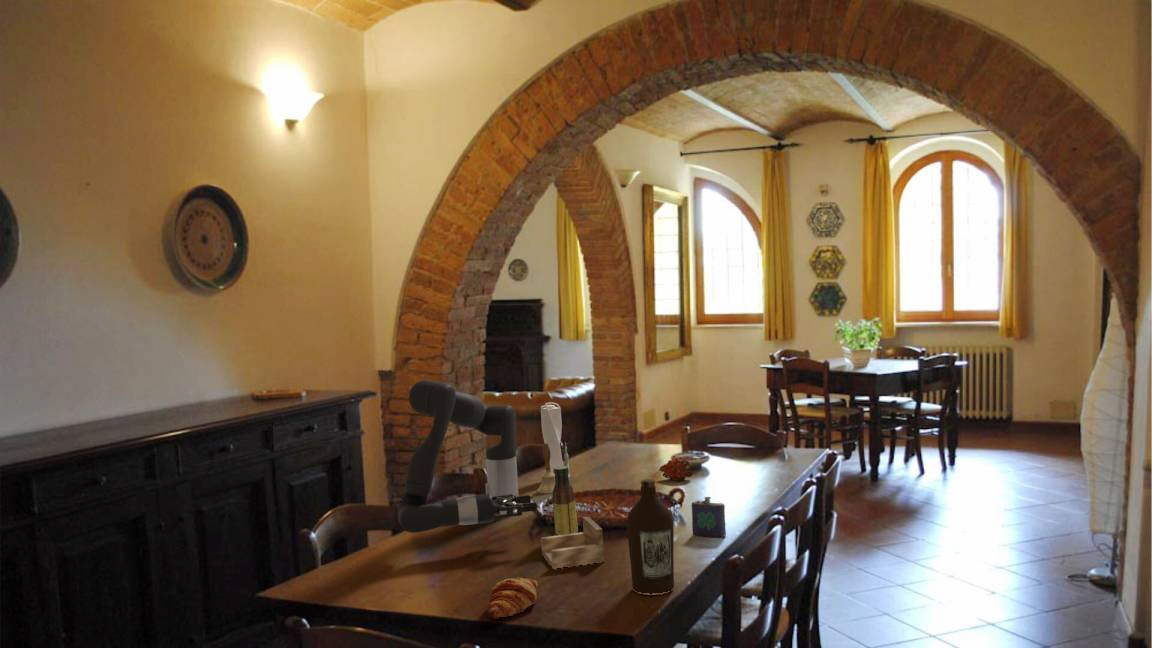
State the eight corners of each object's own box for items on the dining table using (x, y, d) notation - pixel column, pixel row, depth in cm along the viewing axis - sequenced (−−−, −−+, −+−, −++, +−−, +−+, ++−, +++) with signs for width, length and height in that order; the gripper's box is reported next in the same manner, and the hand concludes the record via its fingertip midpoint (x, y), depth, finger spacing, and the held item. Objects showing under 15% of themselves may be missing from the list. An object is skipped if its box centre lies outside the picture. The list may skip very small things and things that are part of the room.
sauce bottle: (574, 533, 258) (570, 463, 257) (581, 539, 252) (577, 467, 251) (551, 537, 256) (547, 466, 255) (558, 543, 250) (554, 470, 249)
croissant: (524, 604, 215) (508, 573, 216) (558, 587, 212) (542, 555, 213) (482, 637, 196) (464, 603, 197) (518, 619, 192) (501, 584, 193)
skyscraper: (562, 482, 321) (558, 402, 319) (540, 482, 323) (536, 402, 322) (570, 477, 329) (566, 399, 327) (549, 476, 331) (544, 399, 330)
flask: (727, 536, 248) (725, 496, 247) (723, 539, 245) (721, 499, 245) (694, 533, 252) (692, 494, 251) (690, 536, 249) (688, 497, 249)
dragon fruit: (696, 486, 312) (662, 489, 317) (698, 467, 318) (665, 470, 323) (688, 469, 307) (654, 473, 312) (690, 450, 314) (657, 454, 318)
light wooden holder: (553, 569, 228) (551, 535, 227) (541, 554, 240) (540, 522, 240) (604, 562, 231) (602, 529, 231) (590, 548, 244) (588, 516, 243)
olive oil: (624, 584, 214) (618, 478, 213) (668, 578, 216) (662, 473, 215) (637, 600, 204) (631, 488, 202) (683, 593, 206) (677, 483, 205)
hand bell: (543, 495, 305) (540, 447, 304) (533, 490, 312) (530, 443, 311) (566, 490, 309) (563, 443, 308) (555, 486, 316) (552, 440, 315)
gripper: (477, 501, 240) (538, 494, 244) (469, 489, 254) (527, 483, 258) (479, 530, 240) (539, 522, 244) (471, 516, 254) (529, 509, 258)
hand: (533, 502), depth 251 cm, fingers open, 8 cm apart
